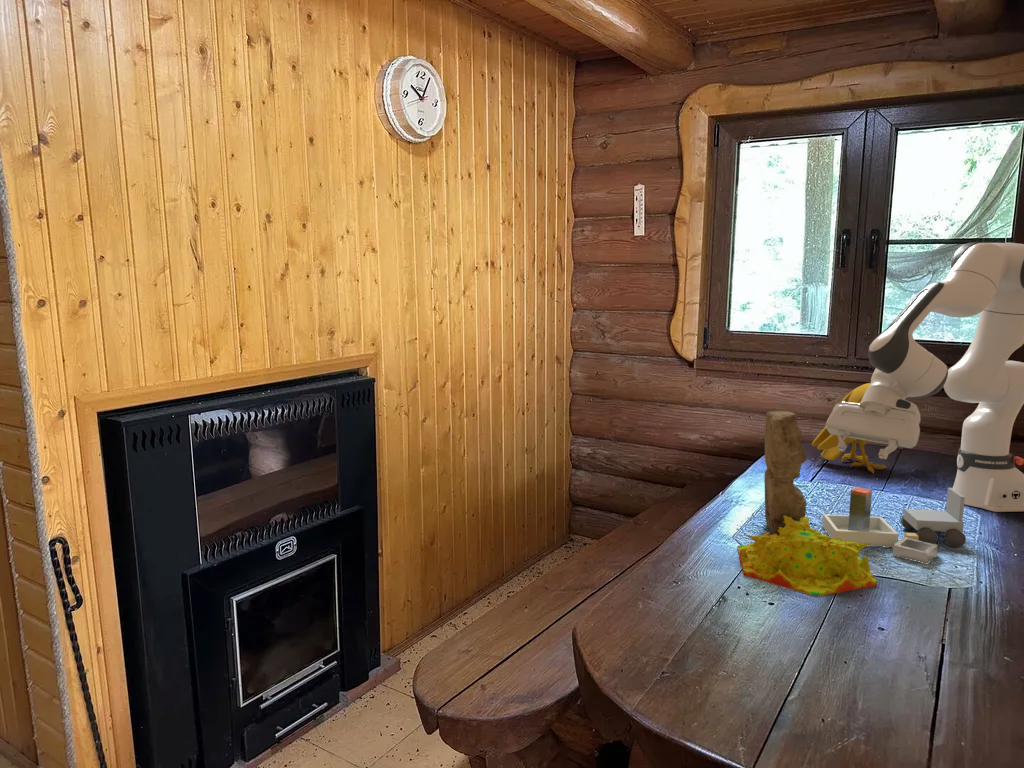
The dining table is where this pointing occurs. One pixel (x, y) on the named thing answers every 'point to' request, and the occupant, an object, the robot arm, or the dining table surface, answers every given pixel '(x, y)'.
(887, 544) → the tray
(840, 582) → the decorative piece
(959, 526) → the trolley
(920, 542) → the bracket
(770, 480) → the sculpture
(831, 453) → the sculpture
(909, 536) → the block
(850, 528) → the pin
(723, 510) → the dining table surface
